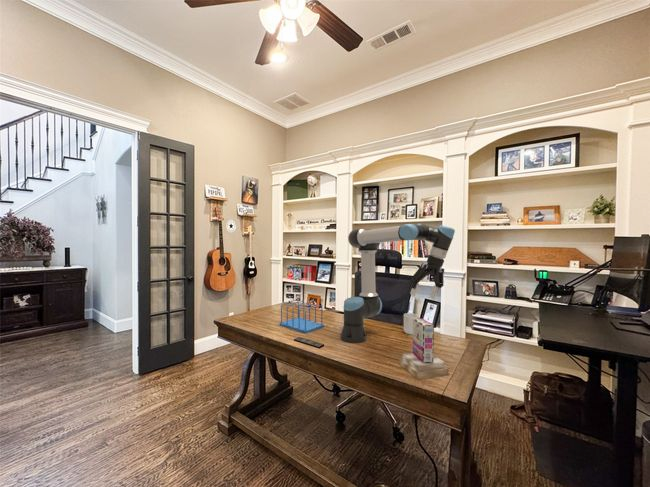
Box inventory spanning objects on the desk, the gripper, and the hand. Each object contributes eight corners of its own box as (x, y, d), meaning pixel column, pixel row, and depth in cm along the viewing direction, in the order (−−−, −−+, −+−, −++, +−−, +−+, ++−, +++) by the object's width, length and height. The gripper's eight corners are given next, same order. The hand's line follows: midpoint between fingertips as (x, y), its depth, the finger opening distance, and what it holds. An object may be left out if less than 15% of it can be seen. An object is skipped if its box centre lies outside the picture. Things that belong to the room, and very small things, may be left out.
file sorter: (279, 325, 185) (279, 302, 185) (298, 320, 198) (298, 298, 198) (305, 333, 168) (305, 309, 168) (324, 327, 182) (324, 304, 181)
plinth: (398, 363, 127) (398, 353, 127) (426, 360, 131) (426, 349, 131) (418, 379, 113) (418, 367, 113) (448, 374, 117) (448, 363, 117)
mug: (413, 336, 165) (413, 317, 164) (400, 332, 171) (401, 314, 171) (423, 331, 173) (423, 314, 173) (410, 328, 179) (411, 311, 179)
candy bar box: (434, 363, 117) (434, 325, 117) (423, 363, 116) (423, 325, 116) (422, 352, 128) (422, 317, 128) (412, 352, 127) (412, 317, 127)
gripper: (424, 254, 125) (408, 296, 128) (459, 263, 136) (445, 302, 139) (413, 249, 132) (398, 290, 135) (448, 259, 143) (434, 296, 146)
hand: (422, 296), depth 137 cm, fingers open, 13 cm apart
